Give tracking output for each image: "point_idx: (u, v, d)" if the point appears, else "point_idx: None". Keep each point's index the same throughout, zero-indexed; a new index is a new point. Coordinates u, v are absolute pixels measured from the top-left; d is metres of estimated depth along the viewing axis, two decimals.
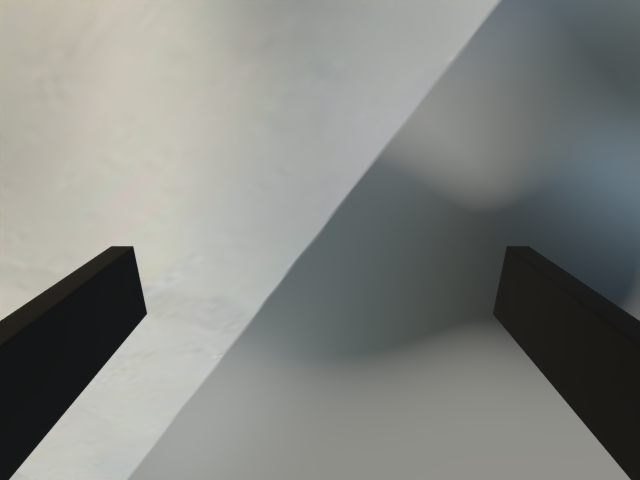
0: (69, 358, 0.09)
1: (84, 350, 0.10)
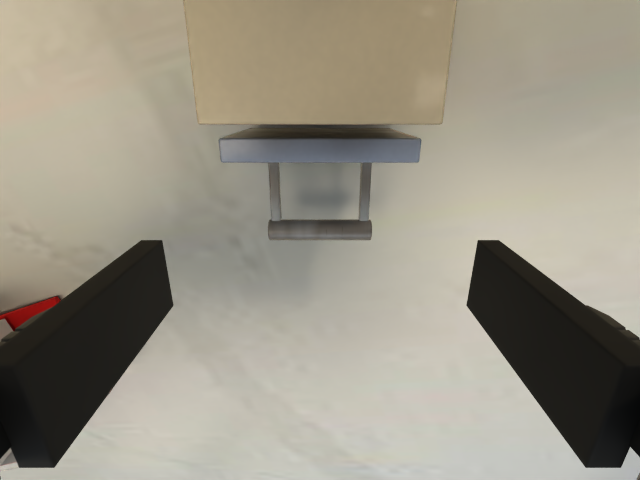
0: (111, 343, 0.10)
1: (123, 337, 0.10)
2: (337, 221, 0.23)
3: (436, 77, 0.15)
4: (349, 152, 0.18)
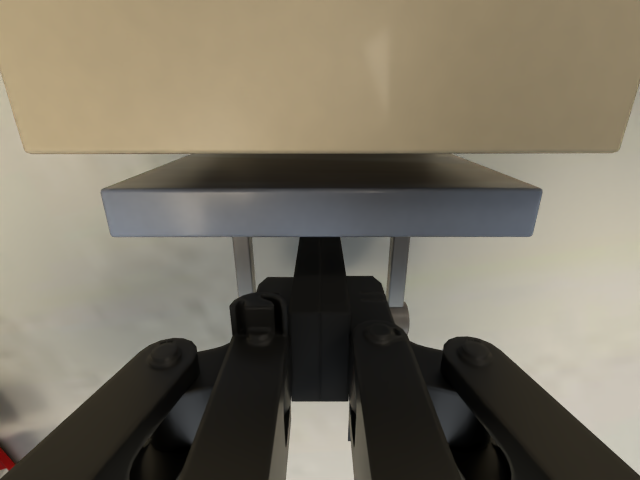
0: None
1: None
2: None
3: (624, 35, 0.06)
4: (385, 218, 0.08)
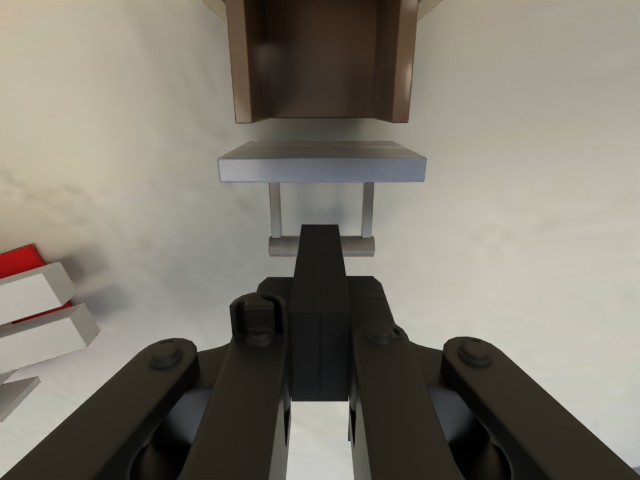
0: None
1: None
2: None
3: None
4: (352, 172, 0.17)
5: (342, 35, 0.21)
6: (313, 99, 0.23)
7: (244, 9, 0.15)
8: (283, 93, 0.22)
